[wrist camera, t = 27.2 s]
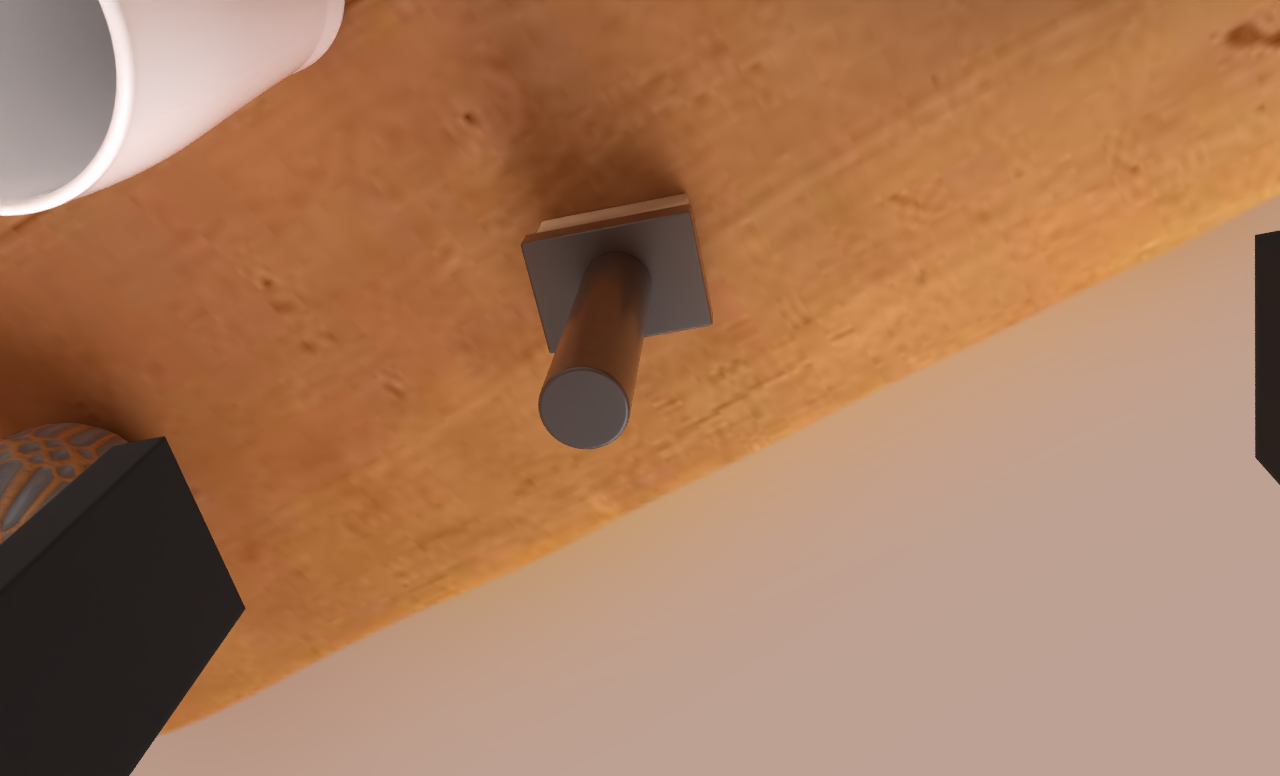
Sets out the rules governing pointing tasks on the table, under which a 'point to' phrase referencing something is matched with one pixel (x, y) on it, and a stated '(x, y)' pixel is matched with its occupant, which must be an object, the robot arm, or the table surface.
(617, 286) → the brush
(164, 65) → the drinking glass
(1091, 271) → the table surface
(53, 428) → the vase
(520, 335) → the table surface
